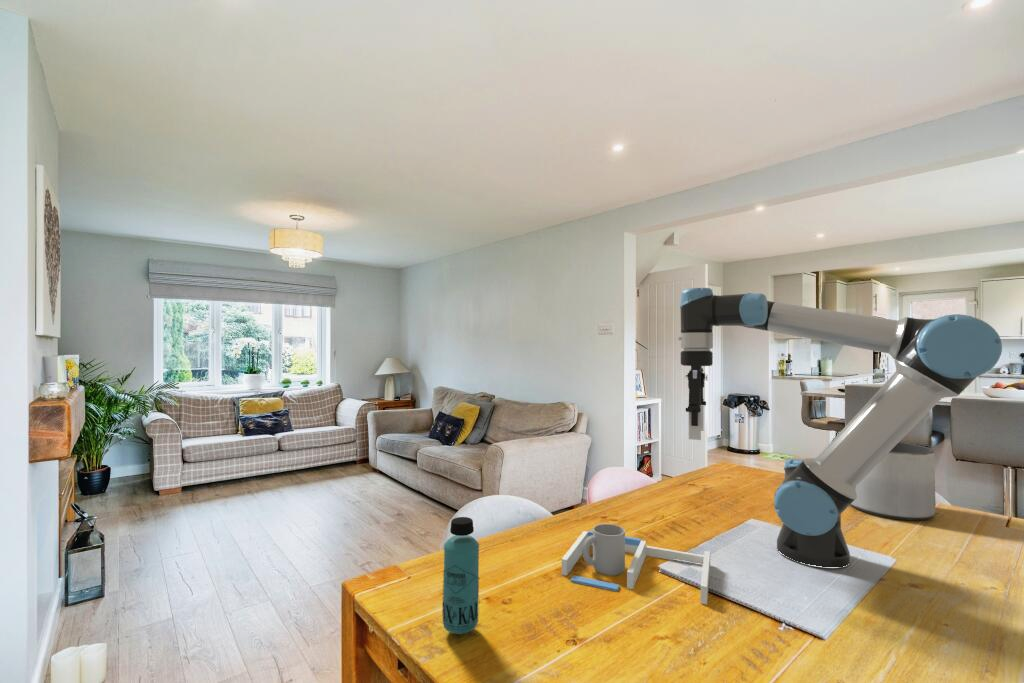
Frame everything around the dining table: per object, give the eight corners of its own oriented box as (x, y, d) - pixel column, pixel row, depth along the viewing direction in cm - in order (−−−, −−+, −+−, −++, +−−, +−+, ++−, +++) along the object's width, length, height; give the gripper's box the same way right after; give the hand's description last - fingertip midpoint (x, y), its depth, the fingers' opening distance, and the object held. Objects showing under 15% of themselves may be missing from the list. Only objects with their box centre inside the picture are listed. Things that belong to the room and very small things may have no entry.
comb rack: (710, 564, 113) (710, 549, 113) (706, 610, 93) (706, 592, 93) (584, 542, 125) (584, 529, 125) (558, 579, 106) (558, 563, 106)
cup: (630, 574, 108) (630, 534, 108) (588, 579, 106) (589, 538, 106) (616, 560, 115) (616, 522, 115) (576, 564, 113) (576, 526, 113)
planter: (928, 506, 155) (927, 443, 156) (943, 528, 136) (942, 457, 137) (842, 494, 168) (842, 436, 168) (845, 513, 149) (845, 447, 149)
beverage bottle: (443, 622, 89) (443, 513, 89) (479, 621, 90) (479, 512, 90) (440, 644, 82) (441, 526, 83) (480, 642, 83) (480, 525, 83)
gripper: (684, 349, 135) (684, 426, 135) (675, 350, 112) (675, 442, 112) (713, 349, 132) (713, 428, 132) (711, 350, 109) (711, 445, 109)
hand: (696, 434), depth 122 cm, fingers open, 13 cm apart
